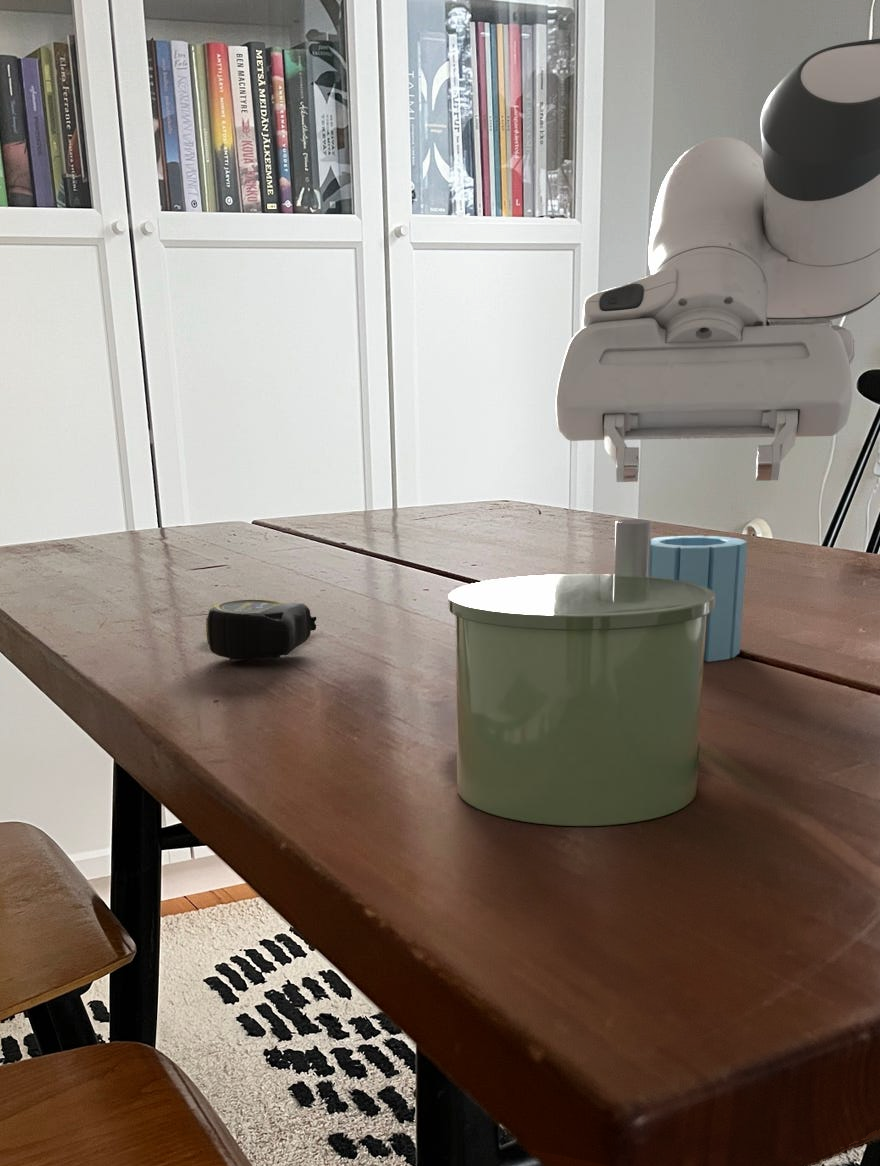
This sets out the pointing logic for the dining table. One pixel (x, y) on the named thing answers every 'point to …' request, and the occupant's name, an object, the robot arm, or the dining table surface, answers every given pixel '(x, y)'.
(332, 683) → the dining table surface
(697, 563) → the blue grooved hollow cylinder
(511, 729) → the pot
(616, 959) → the dining table surface
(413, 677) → the dining table surface
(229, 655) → the tape measure
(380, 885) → the dining table surface
